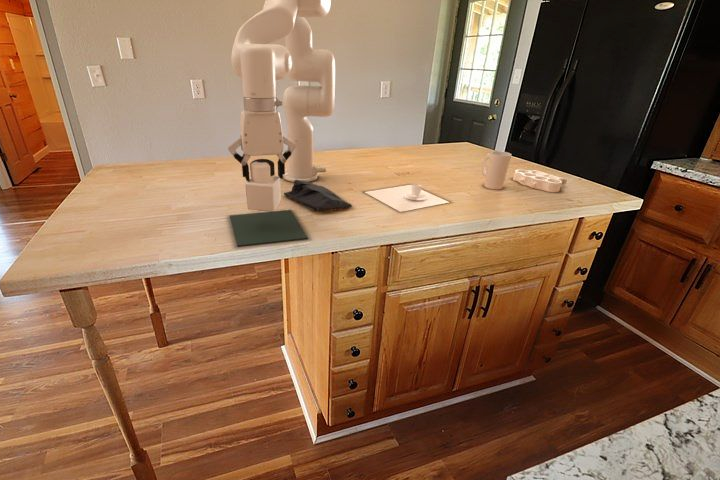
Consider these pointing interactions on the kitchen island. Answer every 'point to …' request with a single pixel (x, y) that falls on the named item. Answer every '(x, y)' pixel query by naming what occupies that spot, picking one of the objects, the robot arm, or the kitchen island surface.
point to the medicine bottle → (263, 186)
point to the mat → (266, 228)
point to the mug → (496, 169)
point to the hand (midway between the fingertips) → (264, 178)
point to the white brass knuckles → (539, 180)
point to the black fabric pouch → (315, 197)
